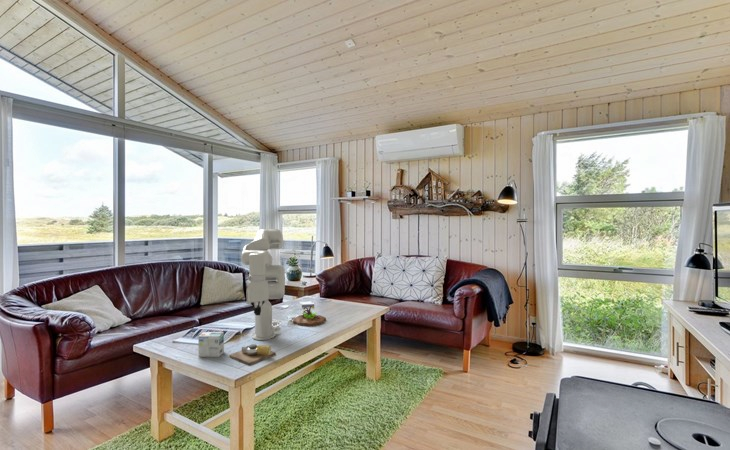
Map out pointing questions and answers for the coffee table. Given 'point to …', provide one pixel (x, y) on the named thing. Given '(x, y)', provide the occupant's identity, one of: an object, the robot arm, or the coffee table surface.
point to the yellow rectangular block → (257, 350)
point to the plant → (309, 318)
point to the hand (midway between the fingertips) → (257, 314)
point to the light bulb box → (211, 344)
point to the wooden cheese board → (250, 356)
